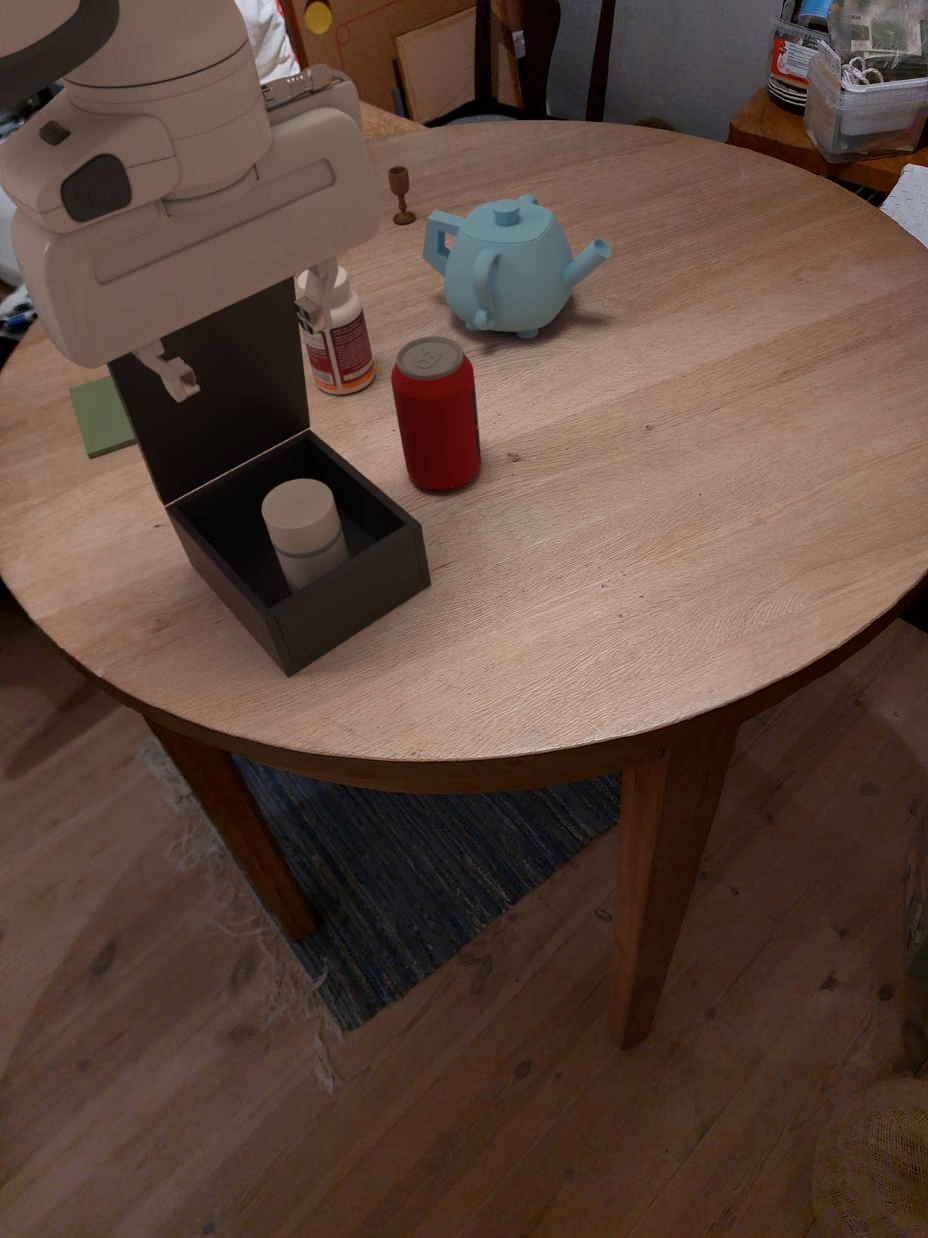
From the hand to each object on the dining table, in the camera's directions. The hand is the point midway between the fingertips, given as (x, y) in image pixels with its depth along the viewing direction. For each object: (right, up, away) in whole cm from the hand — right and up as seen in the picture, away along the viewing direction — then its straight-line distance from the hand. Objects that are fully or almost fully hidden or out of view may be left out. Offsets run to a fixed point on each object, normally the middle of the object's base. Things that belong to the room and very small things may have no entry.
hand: (252, 359), depth 53 cm
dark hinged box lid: (-4, 0, +9) cm, 10 cm away
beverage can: (+11, -3, +25) cm, 28 cm away
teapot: (+19, +17, +40) cm, 47 cm away
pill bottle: (+1, +8, +35) cm, 36 cm away
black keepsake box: (0, -12, +18) cm, 22 cm away
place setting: (-5, +30, +53) cm, 61 cm away
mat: (-20, +6, +35) cm, 41 cm away
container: (+2, -13, +16) cm, 21 cm away
